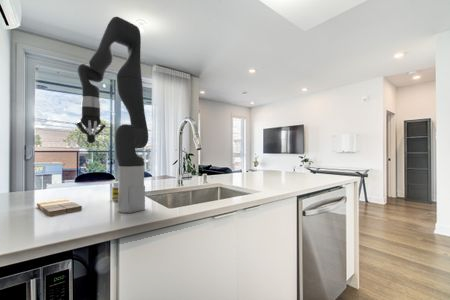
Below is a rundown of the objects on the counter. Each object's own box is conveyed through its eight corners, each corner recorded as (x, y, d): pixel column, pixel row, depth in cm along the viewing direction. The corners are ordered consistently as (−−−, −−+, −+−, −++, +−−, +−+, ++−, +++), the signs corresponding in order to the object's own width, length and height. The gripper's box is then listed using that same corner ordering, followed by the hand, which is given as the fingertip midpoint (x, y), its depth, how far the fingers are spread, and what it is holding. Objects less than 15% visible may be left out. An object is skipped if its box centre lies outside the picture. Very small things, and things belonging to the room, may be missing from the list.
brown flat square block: (81, 210, 81) (81, 205, 81) (49, 216, 74) (49, 211, 74) (73, 206, 87) (73, 202, 87) (42, 211, 80) (42, 207, 80)
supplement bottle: (112, 201, 96) (112, 182, 96) (112, 199, 100) (112, 181, 100) (123, 199, 98) (123, 182, 98) (123, 197, 102) (123, 180, 102)
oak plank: (72, 205, 87) (72, 202, 87) (42, 210, 80) (42, 207, 80) (65, 201, 93) (65, 198, 93) (36, 206, 86) (36, 202, 86)
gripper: (77, 103, 93) (77, 142, 93) (108, 108, 104) (108, 143, 104) (72, 106, 98) (72, 142, 98) (102, 110, 108) (102, 143, 108)
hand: (91, 143), depth 101 cm, fingers closed
